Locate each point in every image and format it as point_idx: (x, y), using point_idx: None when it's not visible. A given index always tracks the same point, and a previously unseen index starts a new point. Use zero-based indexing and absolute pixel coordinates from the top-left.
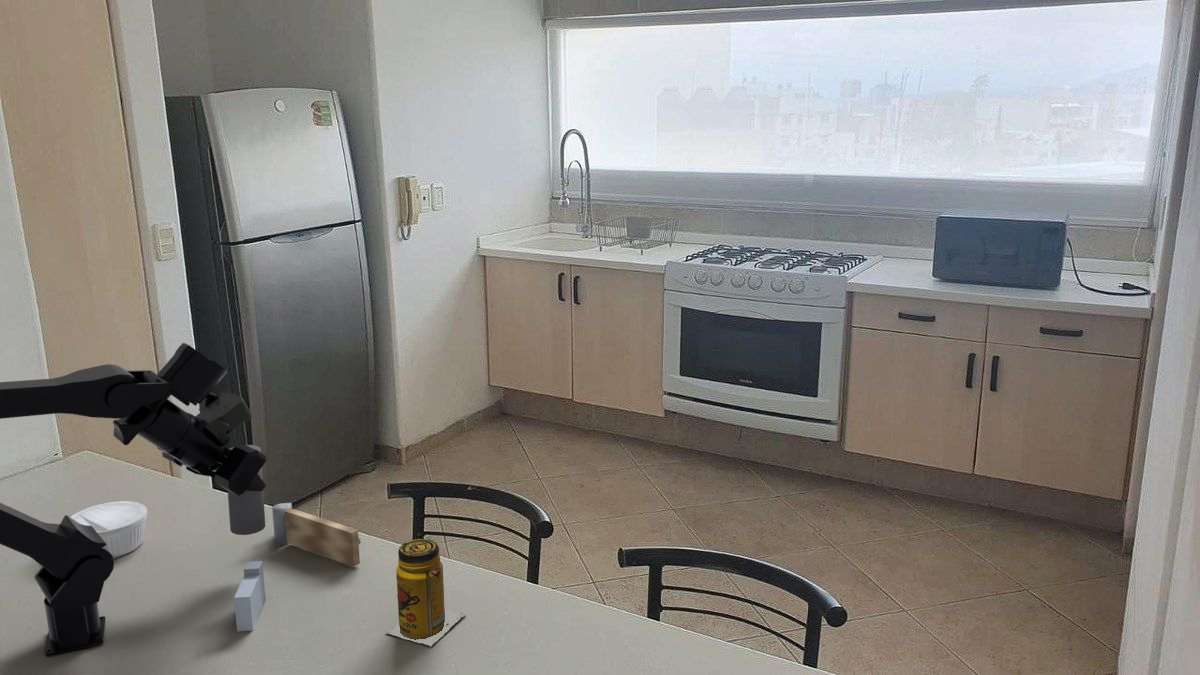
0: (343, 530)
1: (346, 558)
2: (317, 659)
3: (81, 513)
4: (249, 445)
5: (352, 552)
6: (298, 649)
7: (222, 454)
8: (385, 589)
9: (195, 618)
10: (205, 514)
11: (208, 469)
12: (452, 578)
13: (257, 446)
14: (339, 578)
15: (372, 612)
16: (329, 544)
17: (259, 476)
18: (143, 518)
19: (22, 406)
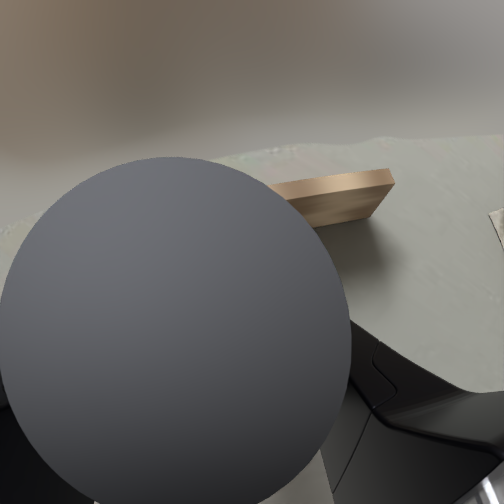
0: (373, 186)
1: (356, 214)
2: None
3: None
4: (64, 205)
5: (377, 204)
6: (489, 391)
7: (16, 419)
8: (443, 223)
9: (318, 491)
10: (2, 287)
11: (74, 495)
12: (455, 154)
13: (142, 162)
14: (377, 252)
15: (480, 272)
16: (320, 214)
17: (354, 323)
18: None
19: None
